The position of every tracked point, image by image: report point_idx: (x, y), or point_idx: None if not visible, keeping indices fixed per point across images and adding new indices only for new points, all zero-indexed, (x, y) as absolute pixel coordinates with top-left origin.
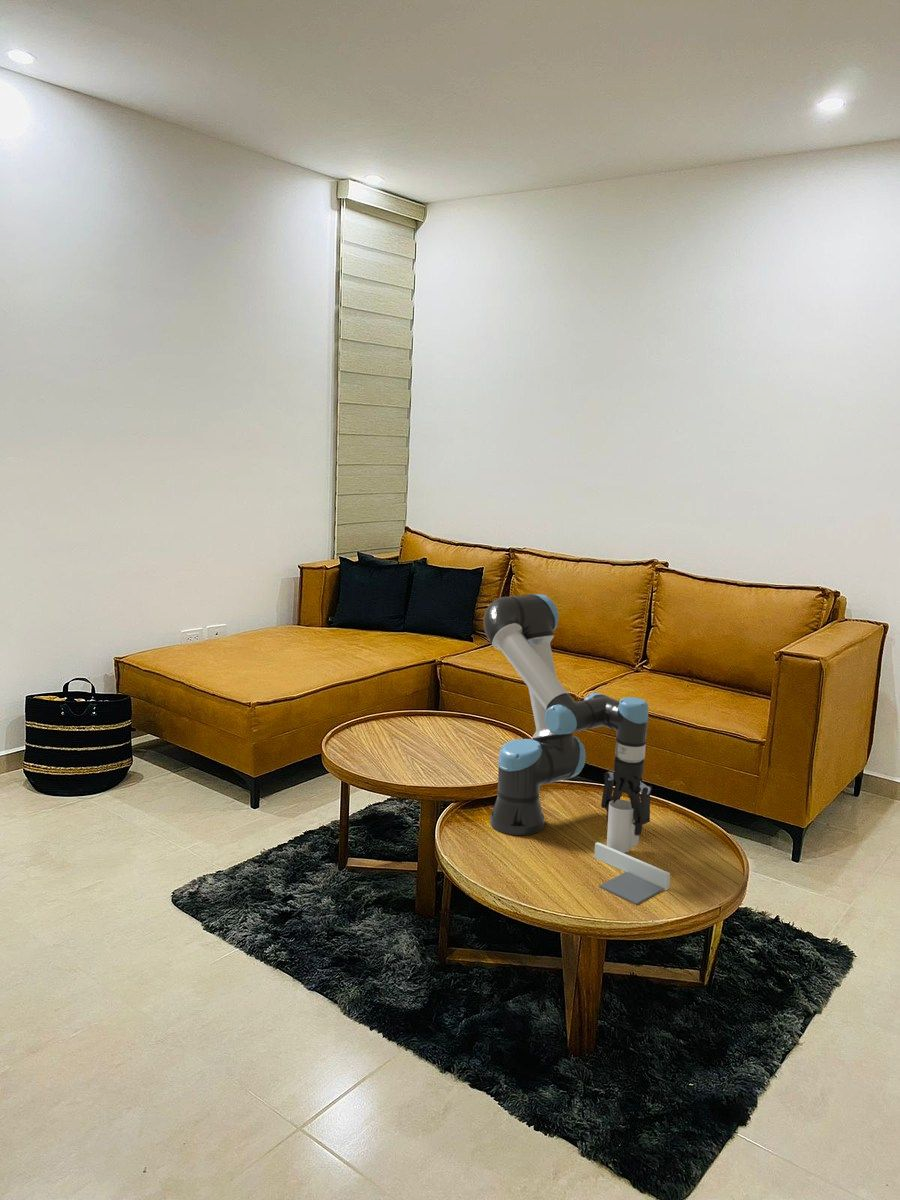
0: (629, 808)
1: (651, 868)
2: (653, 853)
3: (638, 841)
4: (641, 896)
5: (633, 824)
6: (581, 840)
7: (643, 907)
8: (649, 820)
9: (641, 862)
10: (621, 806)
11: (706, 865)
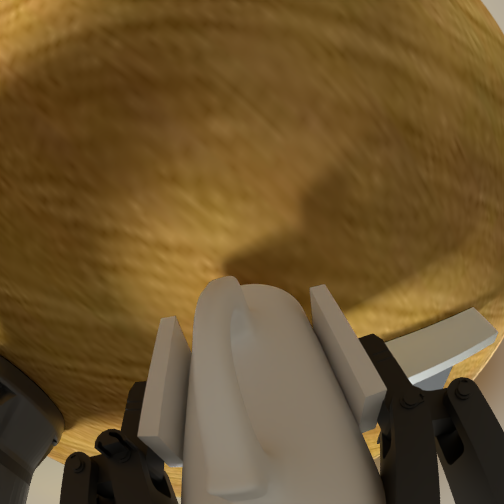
0: (281, 487)
1: (458, 361)
2: (336, 176)
3: (330, 293)
4: (440, 378)
5: (369, 425)
6: (102, 351)
7: (449, 383)
8: (475, 388)
9: (429, 374)
10: (206, 500)
11: (483, 95)
